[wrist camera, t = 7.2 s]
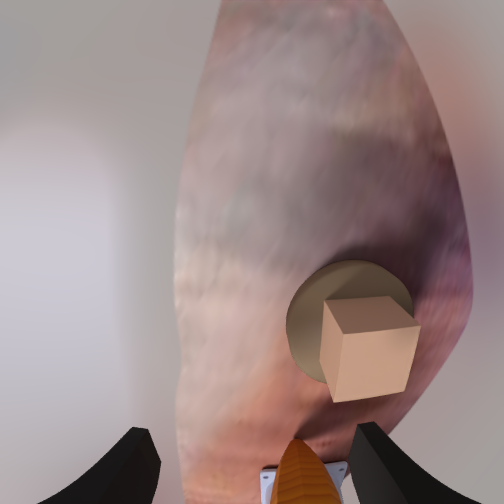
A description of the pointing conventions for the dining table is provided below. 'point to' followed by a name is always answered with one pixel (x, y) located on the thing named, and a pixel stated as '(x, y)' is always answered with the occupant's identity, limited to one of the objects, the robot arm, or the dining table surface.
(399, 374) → the tan block
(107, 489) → the robot arm
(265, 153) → the dining table surface
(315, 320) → the olive round dish
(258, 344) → the dining table surface
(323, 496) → the carrot
